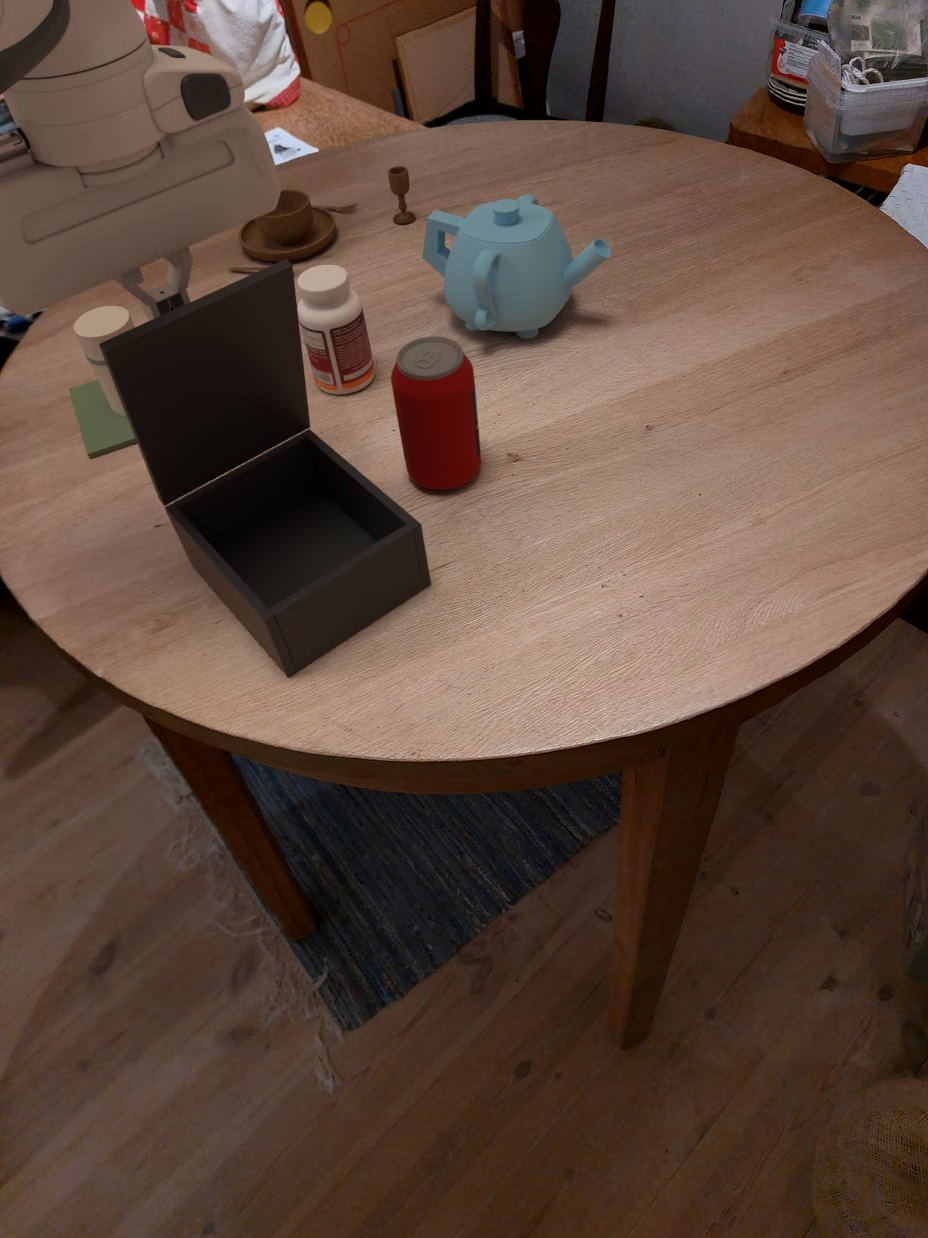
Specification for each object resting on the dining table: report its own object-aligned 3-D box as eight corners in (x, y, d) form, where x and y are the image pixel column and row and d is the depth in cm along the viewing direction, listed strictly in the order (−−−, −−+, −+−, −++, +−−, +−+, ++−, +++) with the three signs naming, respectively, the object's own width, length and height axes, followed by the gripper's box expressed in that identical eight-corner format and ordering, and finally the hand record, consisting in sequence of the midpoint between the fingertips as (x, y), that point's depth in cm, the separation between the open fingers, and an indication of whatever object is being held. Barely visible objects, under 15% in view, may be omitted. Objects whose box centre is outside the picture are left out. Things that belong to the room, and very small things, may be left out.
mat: (89, 458, 84) (87, 453, 83) (71, 393, 91) (68, 388, 90) (210, 418, 86) (208, 413, 86) (182, 357, 93) (180, 352, 93)
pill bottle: (377, 357, 90) (358, 256, 82) (374, 394, 86) (354, 291, 78) (317, 362, 90) (292, 262, 82) (312, 399, 87) (286, 298, 78)
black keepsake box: (431, 584, 70) (421, 523, 64) (288, 678, 65) (264, 621, 60) (325, 489, 78) (309, 428, 73) (191, 566, 73) (163, 507, 68)
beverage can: (496, 459, 79) (488, 343, 69) (455, 505, 75) (441, 390, 66) (434, 438, 81) (418, 323, 72) (392, 481, 78) (370, 367, 69)
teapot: (400, 344, 91) (382, 235, 82) (458, 263, 101) (449, 157, 92) (584, 373, 86) (587, 259, 76) (628, 285, 95) (635, 174, 86)
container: (119, 423, 86) (80, 343, 79) (105, 396, 89) (66, 317, 82) (170, 403, 87) (136, 323, 80) (154, 378, 90) (121, 298, 83)
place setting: (275, 204, 114) (263, 157, 110) (419, 211, 109) (413, 163, 105) (217, 274, 104) (201, 226, 99) (373, 286, 99) (365, 236, 95)
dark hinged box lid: (292, 265, 58) (286, 258, 58) (104, 351, 53) (98, 343, 53) (310, 427, 72) (305, 420, 73) (164, 506, 68) (159, 499, 68)
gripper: (-67, 182, 46) (50, 398, 57) (263, 64, 53) (312, 275, 64) (-101, 149, 49) (16, 358, 60) (214, 42, 57) (268, 246, 67)
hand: (170, 315), depth 62 cm, fingers closed
